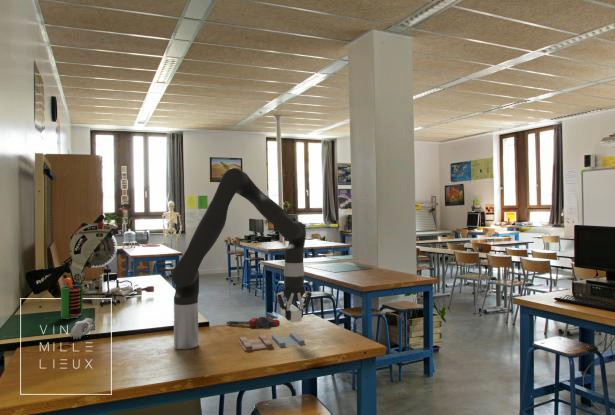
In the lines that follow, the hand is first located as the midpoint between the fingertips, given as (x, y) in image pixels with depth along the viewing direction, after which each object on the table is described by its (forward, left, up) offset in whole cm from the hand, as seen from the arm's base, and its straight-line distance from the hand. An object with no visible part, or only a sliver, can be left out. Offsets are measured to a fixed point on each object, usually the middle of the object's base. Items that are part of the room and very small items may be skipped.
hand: (294, 319), depth 170 cm
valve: (-5, +43, -13) cm, 45 cm away
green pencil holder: (-89, +92, -13) cm, 128 cm away
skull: (-79, +53, -13) cm, 96 cm away
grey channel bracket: (0, +9, -12) cm, 15 cm away
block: (0, +4, 0) cm, 4 cm away
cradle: (-13, +9, -12) cm, 20 cm away
